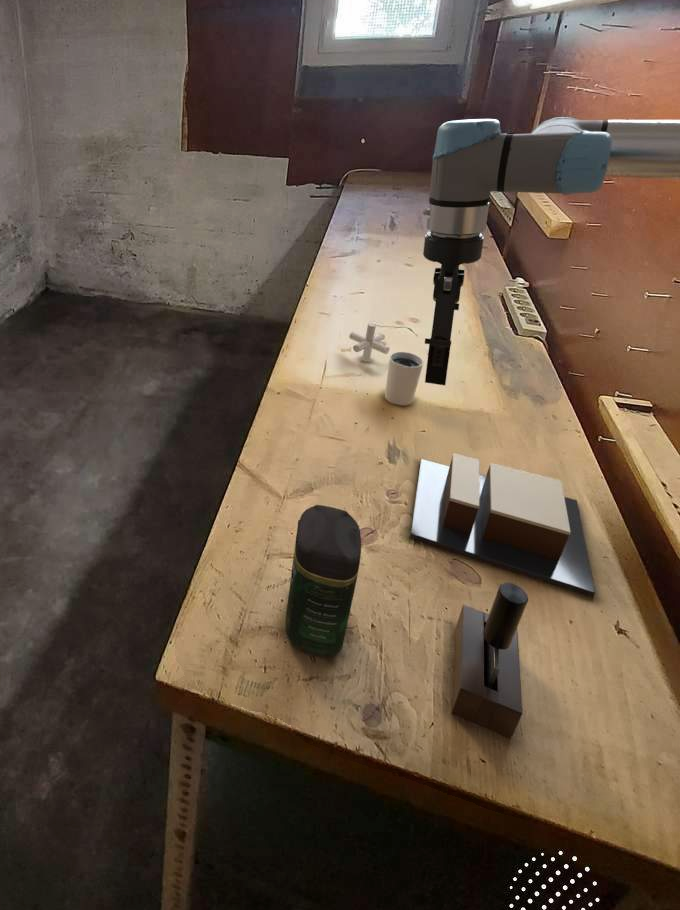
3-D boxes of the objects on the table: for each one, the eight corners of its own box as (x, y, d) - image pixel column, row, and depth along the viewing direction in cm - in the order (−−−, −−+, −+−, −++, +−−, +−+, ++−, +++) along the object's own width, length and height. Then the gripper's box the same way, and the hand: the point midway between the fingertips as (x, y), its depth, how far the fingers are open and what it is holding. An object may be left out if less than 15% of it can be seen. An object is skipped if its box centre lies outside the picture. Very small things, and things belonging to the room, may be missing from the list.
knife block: (455, 629, 76) (463, 604, 74) (507, 648, 73) (517, 623, 71) (451, 713, 67) (460, 687, 65) (511, 739, 64) (522, 713, 62)
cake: (550, 508, 93) (561, 480, 91) (558, 561, 84) (570, 532, 81) (482, 489, 98) (490, 462, 95) (482, 537, 88) (491, 509, 86)
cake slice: (471, 486, 98) (479, 459, 96) (470, 534, 89) (479, 506, 86) (446, 479, 100) (453, 452, 98) (442, 525, 91) (450, 497, 88)
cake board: (575, 504, 95) (576, 500, 95) (593, 597, 80) (595, 593, 79) (420, 462, 106) (421, 458, 105) (409, 538, 90) (410, 533, 90)
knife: (468, 647, 74) (498, 561, 67) (493, 656, 73) (526, 570, 66) (467, 704, 68) (500, 616, 61) (494, 715, 66) (530, 627, 59)
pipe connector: (396, 362, 138) (403, 326, 134) (371, 375, 133) (377, 338, 129) (361, 346, 146) (366, 312, 141) (336, 358, 141) (341, 323, 137)
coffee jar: (344, 667, 72) (365, 566, 64) (281, 649, 75) (293, 550, 66) (345, 602, 80) (363, 506, 72) (289, 588, 83) (300, 493, 74)
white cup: (380, 388, 128) (387, 350, 124) (411, 391, 127) (419, 352, 123) (385, 405, 123) (392, 366, 118) (418, 407, 121) (426, 368, 117)
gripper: (431, 214, 93) (418, 332, 101) (418, 253, 73) (403, 395, 81) (483, 215, 89) (466, 337, 97) (485, 256, 69) (463, 405, 77)
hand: (437, 364), depth 89 cm, fingers open, 13 cm apart
